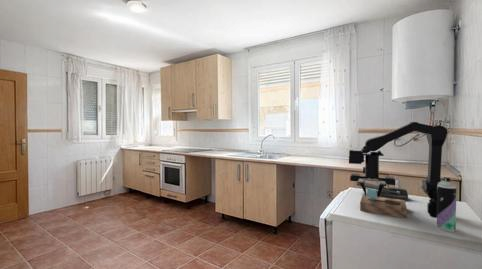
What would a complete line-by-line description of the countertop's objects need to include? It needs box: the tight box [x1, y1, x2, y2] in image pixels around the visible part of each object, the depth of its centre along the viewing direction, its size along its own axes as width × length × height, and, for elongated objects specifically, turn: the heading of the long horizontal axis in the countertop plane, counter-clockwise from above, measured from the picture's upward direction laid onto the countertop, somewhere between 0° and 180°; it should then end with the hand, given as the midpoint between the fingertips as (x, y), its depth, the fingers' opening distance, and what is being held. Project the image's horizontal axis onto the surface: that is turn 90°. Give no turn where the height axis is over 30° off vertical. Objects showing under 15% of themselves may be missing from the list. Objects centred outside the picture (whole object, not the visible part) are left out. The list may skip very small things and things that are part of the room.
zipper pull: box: [355, 181, 409, 202], centre depth 130 cm, size 9×7×25 cm
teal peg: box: [366, 187, 378, 201], centre depth 112 cm, size 4×4×9 cm
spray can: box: [436, 176, 457, 233], centre depth 89 cm, size 6×6×20 cm
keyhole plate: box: [359, 194, 408, 219], centre depth 110 cm, size 18×13×4 cm
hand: (371, 196), depth 112 cm, fingers open, 5 cm apart
